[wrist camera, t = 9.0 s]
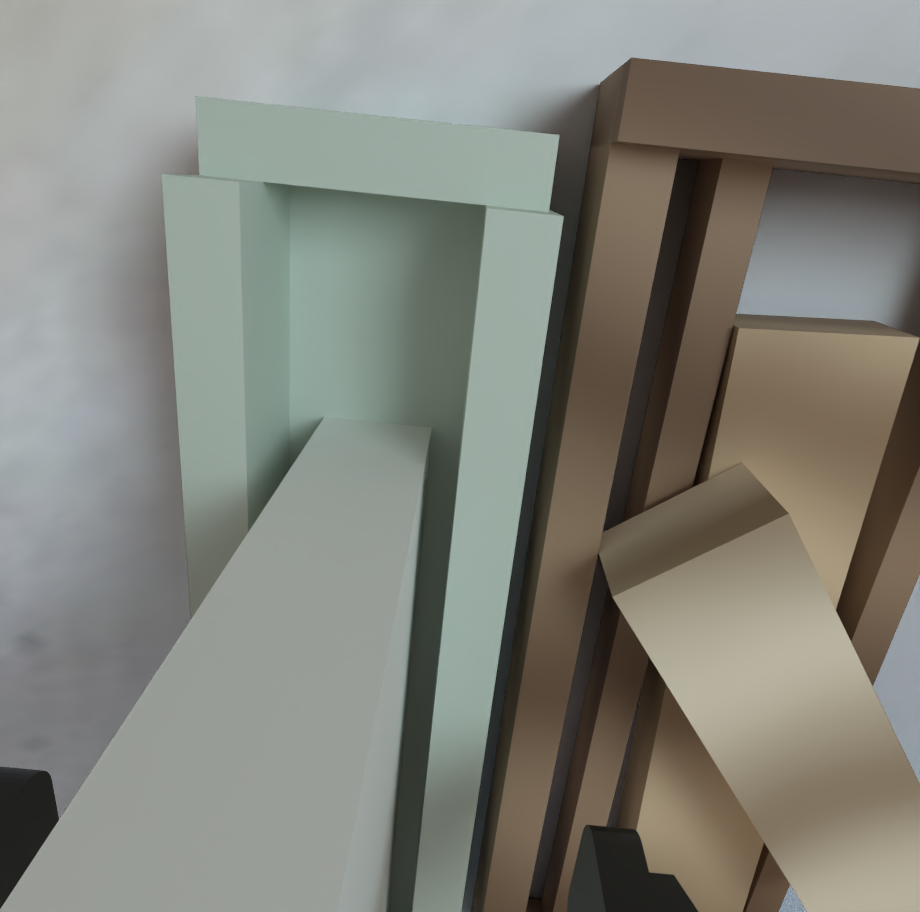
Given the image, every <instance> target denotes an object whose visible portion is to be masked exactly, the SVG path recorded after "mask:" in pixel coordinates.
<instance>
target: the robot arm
mask: <svg viewBox="0 0 920 912" xmlns="http://www.w3.org/2000/svg"><path fill="white" fill-rule="evenodd" d="M58 821H59V817H58V812H57V806H56V801H55V795H54V790H53V784H52V780H51V776H50V775H49V773H48V772H46V771H40V770H30V769H19V768H9V767H0V909H1V907H2V906H3V904H4V903H5V901H6V900H7V898H8V897H9V895H10V894H11V892H12V891H13V889H14V888H15V886H16V885H17V883H18V882H19V880H20V879H21V877H22V876H23V874H24V872H25V871H26V869H27V868H28V866H29V865H30V863H31V862H32V860H33V859H34V857H35V856H36V854H37V853H38V851H39V850H40V848H41V847H42V845H43V844H44V842H45V841H46V839H47V838H48V836H49V834H50V833H51V831H52V830H53V828H54V827H55V825H56V824H57V822H58ZM567 912H698V910H697V909H696V907H695V906H694V904H693V903H692V901H691V900H690V898H689V897H688V895H687V894H686V892H685V891H684V889H683V888H682V886H681V885H680V883H679V882H678V880H677V879H676V877H675V876H674V875H671V874H661V873H650V872H649V870H648V866H647V862H646V858H645V854H644V849H643V845H642V842H641V838H640V836H639V834H638V832H637V831H636V830H635V829H628V828H617V827H607V826H596V825H586V826H585V827H584V829H583V833H582V837H581V841H580V845H579V850H578V854H577V858H576V862H575V867H574V871H573V875H572V879H571V884H570V888H569V893H568V902H567Z"/></svg>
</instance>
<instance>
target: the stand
mask: <svg viewBox="0 0 920 912" xmlns="http://www.w3.org/2000/svg"><path fill="white" fill-rule="evenodd" d="M196 118H197V139H198V160H199V175H191V174H161V177H162V192H163V207H164V222H165V237H166V252H167V267H168V282H169V297H170V312H171V327H172V342H173V357H174V373H175V388H176V403H177V418H178V433H179V448H180V463H181V478H182V493H183V508H184V523H185V538H186V553H187V568H188V583H189V598H190V613H191V619H192V617H193V616H194V614H195V613H196V611H197V610H198V608H199V607H200V605H201V604H202V602H203V600H204V599H205V597H206V596H207V594H208V593H209V591H210V590H211V588H212V587H213V585H214V584H215V582H216V581H217V579H218V578H219V576H220V575H221V573H222V572H223V570H224V569H225V567H226V566H227V564H228V562H229V561H230V559H231V558H232V556H233V555H234V553H235V552H236V550H237V549H238V547H239V546H240V544H241V543H242V541H243V540H244V538H245V537H246V535H247V534H248V532H249V531H250V529H251V528H252V526H253V525H254V523H255V521H256V520H257V518H258V517H259V515H260V514H261V512H262V511H263V509H264V508H265V506H266V505H267V503H268V502H269V500H270V499H271V497H272V496H273V494H274V493H275V491H276V490H277V488H278V487H279V485H280V483H281V482H282V480H283V479H284V477H285V476H286V474H287V473H288V471H289V470H290V468H291V467H292V465H293V464H294V462H295V461H296V459H297V458H298V456H299V455H300V453H301V452H302V450H303V449H304V447H305V445H306V444H307V442H308V441H309V439H310V438H311V436H312V435H313V433H314V432H315V430H316V429H317V427H318V426H319V424H320V423H321V421H322V420H323V418H324V417H333V418H343V419H352V420H362V421H372V422H381V423H391V424H401V425H410V426H420V427H430V428H432V432H431V443H430V454H429V465H428V476H427V488H426V499H425V510H424V521H423V533H422V544H421V555H420V566H419V577H418V589H417V600H416V611H415V622H414V634H413V645H412V656H411V667H410V678H409V690H408V701H407V712H406V723H405V735H404V746H403V757H402V768H401V780H400V791H399V802H398V813H397V824H396V836H395V847H394V858H393V869H392V881H391V892H390V903H389V912H461V910H462V904H463V897H464V890H465V883H466V876H467V870H468V863H469V856H470V849H471V843H472V836H473V829H474V822H475V815H476V809H477V802H478V795H479V788H480V782H481V775H482V768H483V761H484V754H485V748H486V741H487V734H488V727H489V721H490V714H491V707H492V700H493V693H494V687H495V680H496V673H497V666H498V660H499V653H500V646H501V639H502V632H503V626H504V619H505V612H506V605H507V599H508V592H509V585H510V578H511V571H512V565H513V558H514V551H515V544H516V538H517V531H518V524H519V517H520V511H521V504H522V497H523V490H524V483H525V477H526V470H527V463H528V456H529V450H530V443H531V436H532V429H533V422H534V416H535V409H536V402H537V395H538V389H539V382H540V375H541V368H542V361H543V355H544V348H545V341H546V334H547V328H548V321H549V314H550V307H551V300H552V294H553V287H554V280H555V273H556V267H557V260H558V253H559V246H560V239H561V233H562V226H563V219H564V216H562V215H560V214H558V213H555V212H553V211H551V210H549V208H550V201H551V194H552V186H553V179H554V172H555V165H556V158H557V151H558V143H559V136H560V135H556V134H546V133H537V132H528V131H518V130H509V129H499V128H490V127H481V126H471V125H462V124H452V123H443V122H434V121H424V120H415V119H405V118H396V117H387V116H377V115H368V114H358V113H349V112H340V111H330V110H321V109H311V108H302V107H293V106H283V105H274V104H264V103H255V102H246V101H236V100H227V99H217V98H208V97H199V96H196Z"/></svg>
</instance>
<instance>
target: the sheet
mask: <svg viewBox="0 0 920 912" xmlns="http://www.w3.org/2000/svg"><path fill="white" fill-rule="evenodd" d="M431 432H432V428H430V427H420V426H410V425H401V424H391V423H381V422H372V421H362V420H352V419H343V418H333V417H324V418H323V420H322V421H321V423H320V424H319V426H318V427H317V429H316V430H315V432H314V433H313V435H312V436H311V438H310V439H309V441H308V442H307V444H306V445H305V447H304V449H303V450H302V452H301V453H300V455H299V456H298V458H297V459H296V461H295V462H294V464H293V465H292V467H291V468H290V470H289V471H288V473H287V474H286V476H285V477H284V479H283V480H282V482H281V483H280V485H279V487H278V488H277V490H276V491H275V493H274V494H273V496H272V497H271V499H270V500H269V502H268V503H267V505H266V506H265V508H264V509H263V511H262V512H261V514H260V515H259V517H258V518H257V520H256V521H255V523H254V525H253V526H252V528H251V529H250V531H249V532H248V534H247V535H246V537H245V538H244V540H243V541H242V543H241V544H240V546H239V547H238V549H237V550H236V552H235V553H234V555H233V556H232V558H231V559H230V561H229V562H228V564H227V566H226V567H225V569H224V570H223V572H222V573H221V575H220V576H219V578H218V579H217V581H216V582H215V584H214V585H213V587H212V588H211V590H210V591H209V593H208V594H207V596H206V597H205V599H204V600H203V602H202V604H201V605H200V607H199V608H198V610H197V611H196V613H195V614H194V616H193V617H192V619H191V620H190V622H189V623H188V625H187V626H186V628H185V629H184V631H183V632H182V634H181V635H180V637H179V638H178V640H177V642H176V643H175V645H174V646H173V648H172V649H171V651H170V652H169V654H168V655H167V657H166V658H165V660H164V661H163V663H162V664H161V666H160V667H159V669H158V670H157V672H156V673H155V675H154V676H153V678H152V679H151V681H150V683H149V684H148V686H147V687H146V689H145V690H144V692H143V693H142V695H141V696H140V698H139V699H138V701H137V702H136V704H135V705H134V707H133V708H132V710H131V711H130V713H129V714H128V716H127V717H126V719H125V721H124V722H123V724H122V725H121V727H120V728H119V730H118V731H117V733H116V734H115V736H114V737H113V739H112V740H111V742H110V743H109V745H108V746H107V748H106V749H105V751H104V752H103V754H102V755H101V757H100V759H99V760H98V762H97V763H96V765H95V766H94V768H93V769H92V771H91V772H90V774H89V775H88V777H87V778H86V780H85V781H84V783H83V784H82V786H81V787H80V789H79V790H78V792H77V793H76V795H75V797H74V798H73V800H72V801H71V803H70V804H69V806H68V807H67V809H66V810H65V812H64V813H63V815H62V816H61V818H60V819H59V821H58V822H57V824H56V825H55V827H54V828H53V830H52V831H51V833H50V834H49V836H48V838H47V839H46V841H45V842H44V844H43V845H42V847H41V848H40V850H39V851H38V853H37V854H36V856H35V857H34V859H33V860H32V862H31V863H30V865H29V866H28V868H27V869H26V871H25V872H24V874H23V876H22V877H21V879H20V880H19V882H18V883H17V885H16V886H15V888H14V889H13V891H12V892H11V894H10V895H9V897H8V898H7V900H6V901H5V903H4V904H3V906H2V907H1V909H0V912H389V903H390V892H391V881H392V869H393V858H394V847H395V836H396V824H397V813H398V802H399V791H400V780H401V768H402V757H403V746H404V735H405V723H406V712H407V701H408V690H409V678H410V667H411V656H412V645H413V634H414V622H415V611H416V600H417V589H418V577H419V566H420V555H421V544H422V533H423V521H424V510H425V499H426V488H427V476H428V465H429V454H430V443H431Z"/></svg>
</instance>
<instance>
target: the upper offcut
mask: <svg viewBox="0 0 920 912" xmlns="http://www.w3.org/2000/svg"><path fill="white" fill-rule="evenodd" d="M598 553H599V556H600V559H601V562H602V565H603V569H604V572H605V575H606V578H607V581H608V585H609V588H610V591H611V594H612V597H613V599H614V601H615V602H616V604H617V605H618V607H619V609H620V610H621V612H622V613H623V615H624V617H625V618H626V620H627V622H628V623H629V625H630V626H631V628H632V630H633V631H634V633H635V634H636V636H637V638H638V639H639V641H640V643H641V644H642V646H643V647H644V649H645V651H646V652H647V654H648V655H649V657H650V659H651V660H652V662H653V664H654V665H655V667H656V668H657V670H658V672H659V673H660V675H661V676H662V678H663V680H664V681H665V683H666V685H667V686H668V688H669V689H670V691H671V693H672V694H673V696H674V697H675V699H676V701H677V702H678V704H679V706H680V707H681V709H682V710H683V712H684V714H685V715H686V717H687V718H688V720H689V722H690V723H691V725H692V727H693V728H694V730H695V731H696V733H697V735H698V736H699V738H700V739H701V741H702V743H703V744H704V746H705V748H706V749H707V751H708V752H709V754H710V756H711V757H712V759H713V760H714V762H715V764H716V765H717V767H718V768H719V770H720V772H721V773H722V775H723V777H724V778H725V780H726V781H727V783H728V785H729V786H730V788H731V789H732V791H733V793H734V794H735V796H736V798H737V799H738V801H739V802H740V804H741V806H742V807H743V809H744V810H745V812H746V814H747V815H748V817H749V819H750V820H751V822H752V823H753V825H754V827H755V828H756V830H757V831H758V833H759V835H760V836H761V838H762V840H763V841H764V843H765V844H766V846H767V848H768V849H769V851H770V852H771V854H772V856H773V857H774V859H775V861H776V862H777V864H778V865H779V867H780V869H781V870H782V872H783V873H784V875H785V877H786V878H787V880H788V882H789V883H790V885H791V886H792V888H793V890H794V891H795V893H796V894H797V896H798V898H799V899H800V901H801V903H802V904H803V906H804V907H805V909H806V911H807V912H920V784H919V782H918V780H917V777H916V775H915V773H914V771H913V769H912V767H911V765H910V763H909V761H908V759H907V757H906V755H905V753H904V751H903V749H902V746H901V744H900V742H899V740H898V738H897V736H896V734H895V732H894V730H893V728H892V726H891V724H890V722H889V720H888V717H887V715H886V713H885V711H884V709H883V707H882V705H881V703H880V701H879V699H878V697H877V695H876V693H875V691H874V688H873V686H872V684H871V682H870V680H869V678H868V676H867V674H866V672H865V670H864V668H863V666H862V664H861V662H860V660H859V657H858V655H857V653H856V651H855V649H854V647H853V645H852V643H851V641H850V639H849V637H848V635H847V633H846V631H845V628H844V626H843V624H842V622H841V620H840V618H839V616H838V614H837V612H836V610H835V608H834V606H833V604H832V602H831V599H830V597H829V595H828V593H827V591H826V589H825V587H824V585H823V583H822V581H821V579H820V577H819V575H818V573H817V571H816V568H815V566H814V564H813V562H812V560H811V558H810V556H809V554H808V552H807V550H806V548H805V546H804V544H803V542H802V539H801V537H800V535H799V533H798V531H797V529H796V527H795V525H794V523H793V521H792V519H791V517H790V515H789V513H788V512H787V511H786V510H785V509H784V508H783V506H782V505H781V504H780V503H779V502H778V501H777V500H776V499H775V498H774V497H773V496H772V495H771V493H770V492H769V491H768V490H767V489H766V488H765V487H764V486H763V485H762V484H761V483H760V481H759V480H758V479H757V478H756V477H755V476H754V475H753V474H752V473H751V472H750V471H749V469H748V468H747V467H746V466H745V465H744V464H743V463H741V464H739V465H737V466H735V467H733V468H731V469H729V470H727V471H725V472H723V473H721V474H719V475H717V476H715V477H713V478H711V479H709V480H707V481H705V482H703V483H701V484H699V485H697V486H695V487H693V488H691V489H689V490H687V491H685V492H683V493H681V494H679V495H677V496H675V497H673V498H671V499H669V500H667V501H665V502H663V503H661V504H659V505H657V506H655V507H653V508H651V509H649V510H647V511H645V512H643V513H641V514H639V515H637V516H635V517H633V518H631V519H629V520H627V521H625V522H623V523H621V524H619V525H617V526H615V527H613V528H611V529H609V530H607V531H605V532H603V533H602V537H601V542H600V547H599V552H598Z"/></svg>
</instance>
